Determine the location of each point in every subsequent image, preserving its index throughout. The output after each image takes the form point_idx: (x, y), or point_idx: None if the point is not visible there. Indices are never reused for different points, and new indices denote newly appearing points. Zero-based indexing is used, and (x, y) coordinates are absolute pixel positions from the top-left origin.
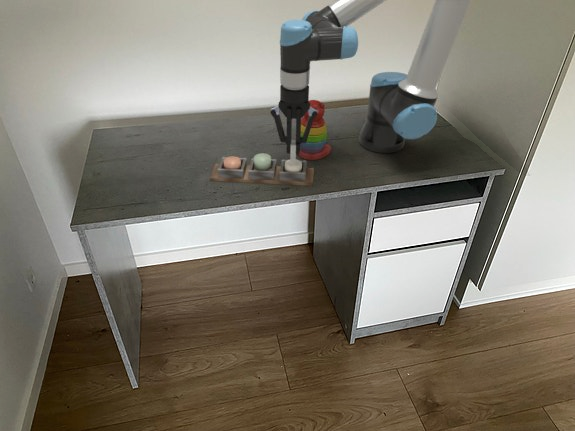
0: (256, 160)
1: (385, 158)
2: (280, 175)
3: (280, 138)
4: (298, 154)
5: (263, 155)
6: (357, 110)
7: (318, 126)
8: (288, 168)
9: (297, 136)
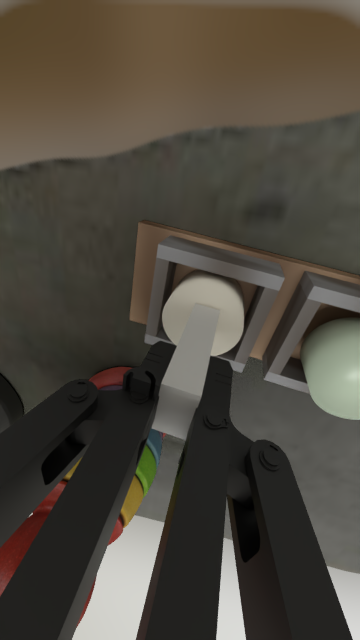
0: None
1: None
2: (278, 271)
3: (289, 484)
4: None
5: (346, 401)
6: None
7: None
8: (232, 295)
9: (115, 456)
